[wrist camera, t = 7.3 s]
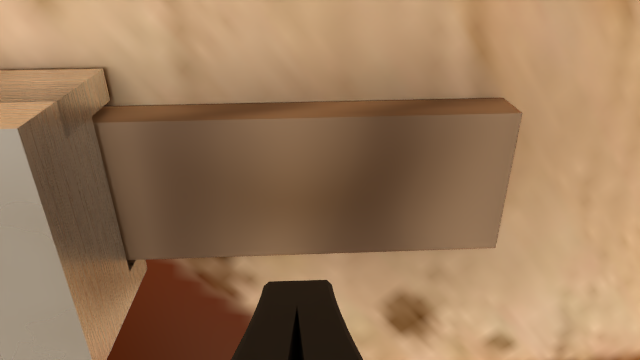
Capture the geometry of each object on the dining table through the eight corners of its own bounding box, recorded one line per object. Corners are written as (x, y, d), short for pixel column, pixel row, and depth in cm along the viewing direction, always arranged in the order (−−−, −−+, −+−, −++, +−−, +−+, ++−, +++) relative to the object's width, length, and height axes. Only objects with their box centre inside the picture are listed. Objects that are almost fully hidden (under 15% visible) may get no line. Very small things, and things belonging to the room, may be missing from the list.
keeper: (103, 68, 14) (17, 128, 10) (147, 268, 18) (98, 378, 13) (-32, 71, 14) (-180, 132, 10) (39, 272, 18) (-46, 384, 13)
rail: (510, 52, 15) (629, 117, 10) (475, 256, 19) (545, 384, 13) (-140, 64, 14) (-397, 141, 9) (-44, 274, 18) (-186, 416, 13)
